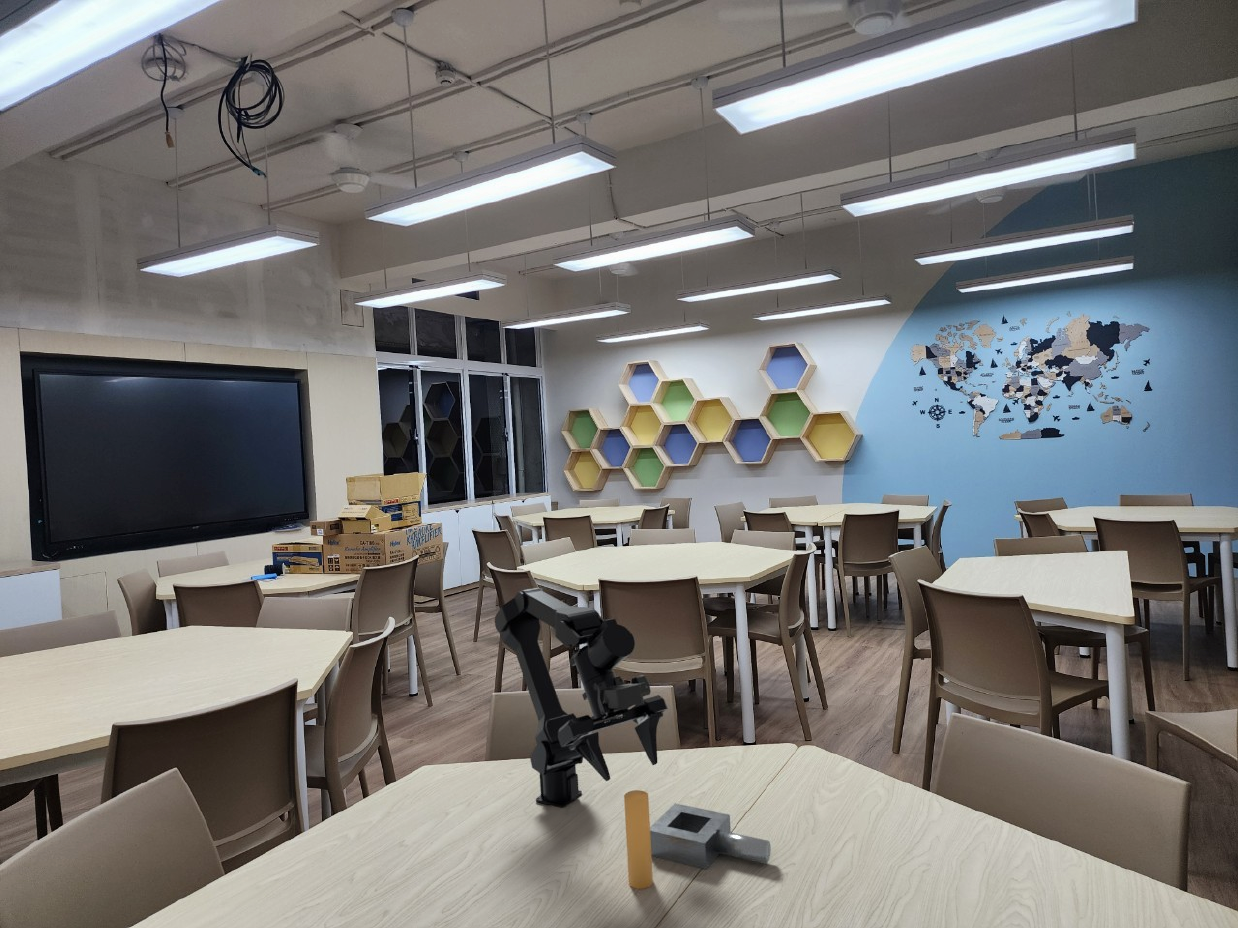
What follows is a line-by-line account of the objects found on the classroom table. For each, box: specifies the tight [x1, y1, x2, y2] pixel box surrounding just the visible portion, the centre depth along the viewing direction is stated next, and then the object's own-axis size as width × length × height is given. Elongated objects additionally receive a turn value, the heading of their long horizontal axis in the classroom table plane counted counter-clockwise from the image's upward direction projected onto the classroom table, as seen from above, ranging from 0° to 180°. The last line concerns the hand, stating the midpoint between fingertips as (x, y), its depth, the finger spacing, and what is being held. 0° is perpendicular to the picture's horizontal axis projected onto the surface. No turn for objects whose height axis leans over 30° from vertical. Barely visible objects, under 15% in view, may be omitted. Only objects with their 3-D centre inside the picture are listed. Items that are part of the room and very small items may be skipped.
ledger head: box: [650, 802, 772, 870], centre depth 120 cm, size 18×10×4 cm, turn 60°
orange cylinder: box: [623, 789, 654, 890], centre depth 113 cm, size 4×4×13 cm
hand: (632, 772), depth 122 cm, fingers open, 9 cm apart
